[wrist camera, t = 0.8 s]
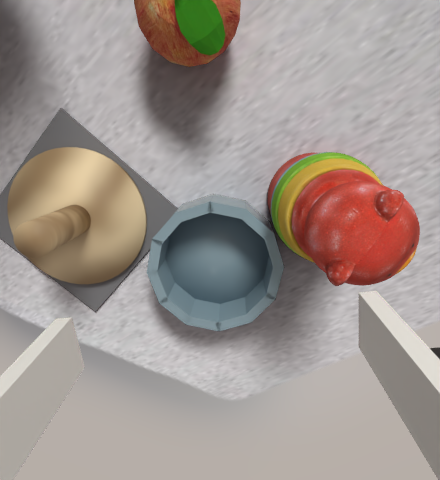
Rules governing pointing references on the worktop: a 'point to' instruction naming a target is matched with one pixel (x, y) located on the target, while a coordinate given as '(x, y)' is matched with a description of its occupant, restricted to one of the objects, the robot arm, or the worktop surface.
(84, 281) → the lid
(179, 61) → the fruit
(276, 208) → the stacking bear
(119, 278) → the mat
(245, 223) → the bowl
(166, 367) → the worktop surface
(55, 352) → the robot arm
